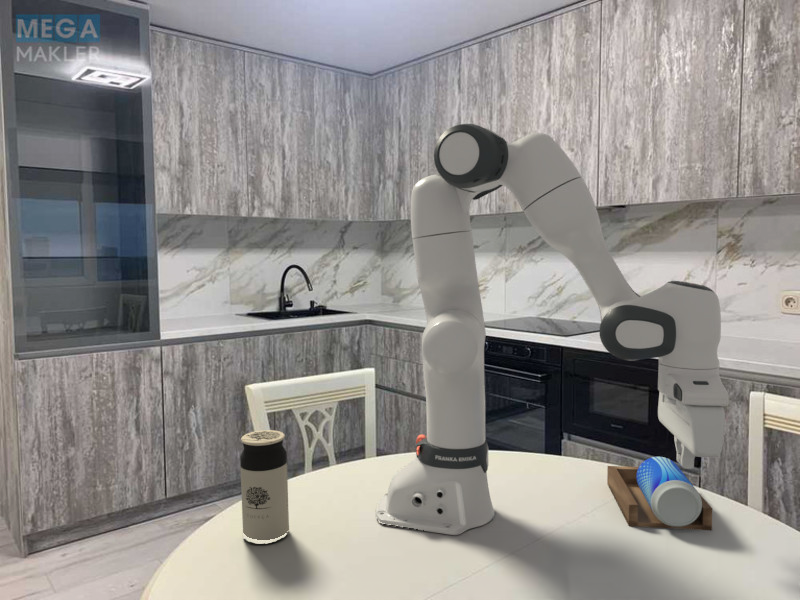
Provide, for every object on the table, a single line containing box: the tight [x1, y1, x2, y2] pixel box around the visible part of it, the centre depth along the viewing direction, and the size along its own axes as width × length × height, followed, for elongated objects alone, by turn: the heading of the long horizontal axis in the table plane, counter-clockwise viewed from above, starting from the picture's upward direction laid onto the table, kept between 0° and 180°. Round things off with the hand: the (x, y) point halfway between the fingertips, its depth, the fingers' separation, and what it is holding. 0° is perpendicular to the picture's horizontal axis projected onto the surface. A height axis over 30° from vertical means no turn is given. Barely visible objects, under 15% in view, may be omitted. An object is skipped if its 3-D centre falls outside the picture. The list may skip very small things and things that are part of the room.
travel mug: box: [239, 429, 290, 540], centre depth 104 cm, size 8×8×18 cm
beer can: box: [636, 456, 702, 527], centre depth 110 cm, size 8×8×16 cm
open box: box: [606, 465, 713, 531], centre depth 115 cm, size 14×20×4 cm
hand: (685, 465), depth 97 cm, fingers closed
